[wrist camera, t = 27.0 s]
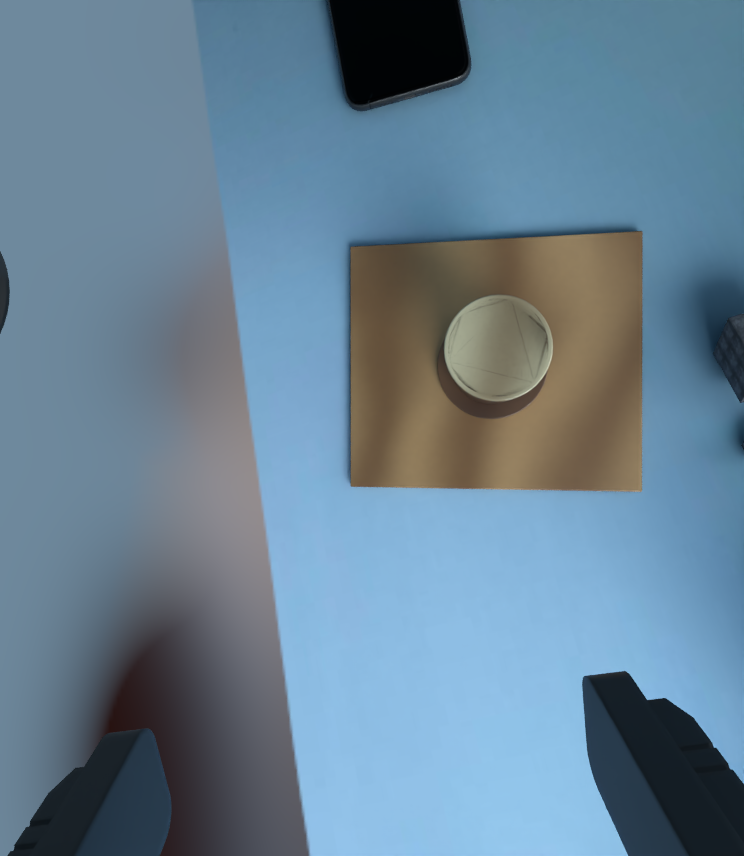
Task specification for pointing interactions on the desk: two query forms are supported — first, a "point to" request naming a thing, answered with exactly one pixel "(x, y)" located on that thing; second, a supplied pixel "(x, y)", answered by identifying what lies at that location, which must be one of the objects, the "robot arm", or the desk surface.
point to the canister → (495, 356)
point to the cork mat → (565, 382)
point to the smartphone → (398, 48)
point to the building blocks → (732, 354)
